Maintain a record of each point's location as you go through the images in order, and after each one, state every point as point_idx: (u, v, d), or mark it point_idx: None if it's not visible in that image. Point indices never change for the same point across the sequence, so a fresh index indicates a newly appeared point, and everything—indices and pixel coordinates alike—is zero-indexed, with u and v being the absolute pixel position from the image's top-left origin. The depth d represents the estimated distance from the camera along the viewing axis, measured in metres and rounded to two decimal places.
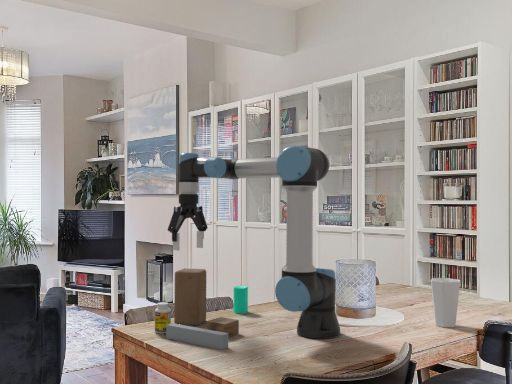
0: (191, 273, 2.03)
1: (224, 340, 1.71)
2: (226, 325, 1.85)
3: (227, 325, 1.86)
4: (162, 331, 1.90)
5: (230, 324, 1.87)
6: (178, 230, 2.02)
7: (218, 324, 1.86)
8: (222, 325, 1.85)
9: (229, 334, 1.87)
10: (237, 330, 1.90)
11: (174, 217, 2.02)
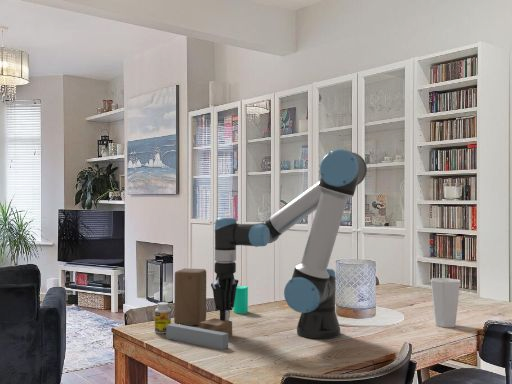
0: (191, 273, 2.03)
1: (224, 340, 1.71)
2: (219, 326, 1.83)
3: (220, 326, 1.83)
4: (162, 331, 1.90)
5: (223, 325, 1.84)
6: (226, 307, 1.90)
7: (211, 325, 1.83)
8: (215, 326, 1.82)
9: None
10: (230, 332, 1.88)
11: (216, 296, 1.87)
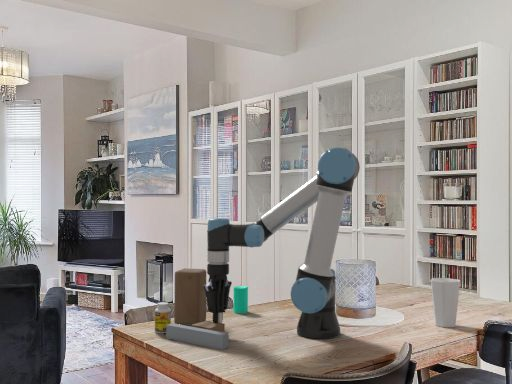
0: (191, 273, 2.03)
1: (224, 340, 1.71)
2: (211, 329, 1.79)
3: (212, 329, 1.80)
4: (162, 331, 1.90)
5: (215, 328, 1.81)
6: (219, 309, 1.86)
7: (203, 328, 1.80)
8: (207, 329, 1.79)
9: None
10: None
11: (209, 298, 1.84)
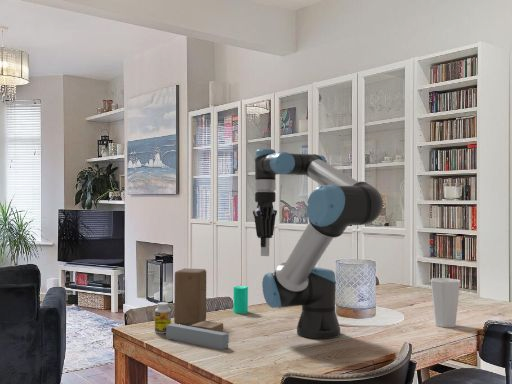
0: (191, 273, 2.03)
1: (224, 340, 1.71)
2: (212, 329, 1.79)
3: (213, 329, 1.80)
4: (162, 331, 1.90)
5: (215, 328, 1.81)
6: (266, 234, 1.98)
7: (203, 328, 1.80)
8: (208, 329, 1.79)
9: None
10: None
11: (258, 223, 1.96)
